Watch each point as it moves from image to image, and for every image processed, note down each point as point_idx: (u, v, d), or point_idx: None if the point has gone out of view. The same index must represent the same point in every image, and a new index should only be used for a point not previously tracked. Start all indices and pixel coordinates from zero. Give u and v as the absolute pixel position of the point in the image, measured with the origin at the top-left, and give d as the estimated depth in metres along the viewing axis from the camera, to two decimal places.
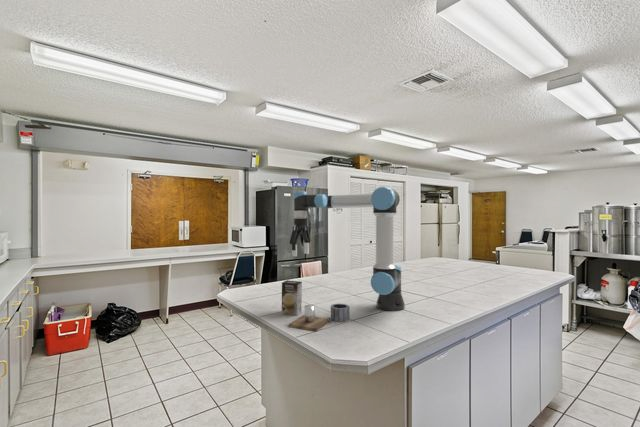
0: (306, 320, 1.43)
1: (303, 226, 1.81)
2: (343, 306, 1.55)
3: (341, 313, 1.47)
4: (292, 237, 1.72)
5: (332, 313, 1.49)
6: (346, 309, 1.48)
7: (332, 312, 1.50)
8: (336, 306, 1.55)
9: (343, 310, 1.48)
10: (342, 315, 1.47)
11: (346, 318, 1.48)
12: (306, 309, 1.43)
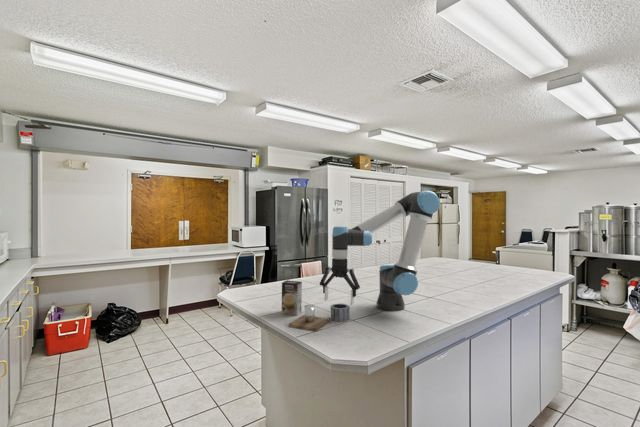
0: (306, 320, 1.43)
1: (341, 268, 1.50)
2: (343, 306, 1.55)
3: (341, 313, 1.47)
4: None
5: (332, 313, 1.49)
6: (346, 309, 1.48)
7: (332, 312, 1.50)
8: (336, 306, 1.55)
9: (343, 310, 1.48)
10: (342, 315, 1.47)
11: (346, 318, 1.48)
12: (306, 309, 1.43)
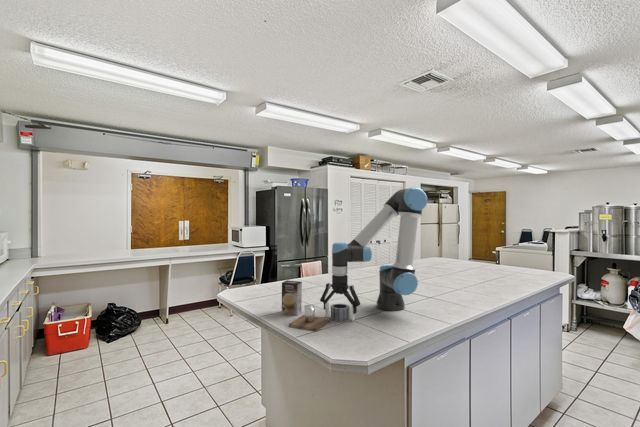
0: (306, 320, 1.43)
1: (341, 285, 1.50)
2: (343, 306, 1.55)
3: (341, 313, 1.47)
4: None
5: (332, 313, 1.49)
6: (346, 309, 1.48)
7: (332, 312, 1.50)
8: (336, 306, 1.55)
9: (343, 310, 1.48)
10: (342, 315, 1.47)
11: (346, 318, 1.48)
12: (306, 309, 1.43)
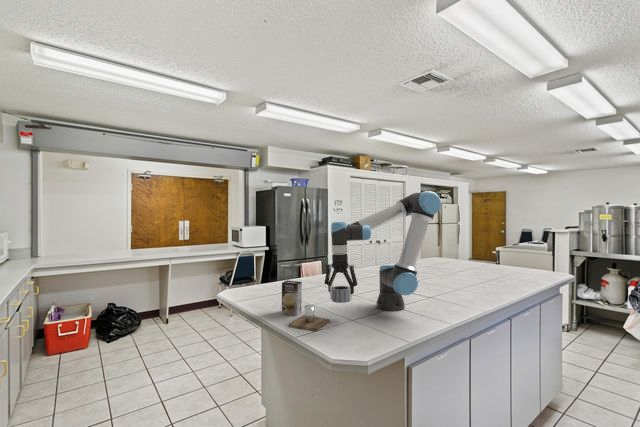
0: (306, 320, 1.43)
1: (342, 263, 1.50)
2: (344, 288, 1.55)
3: (342, 294, 1.48)
4: None
5: (333, 295, 1.50)
6: (347, 290, 1.49)
7: (333, 294, 1.50)
8: (337, 288, 1.55)
9: (344, 291, 1.48)
10: (343, 296, 1.48)
11: (347, 299, 1.49)
12: (306, 309, 1.43)
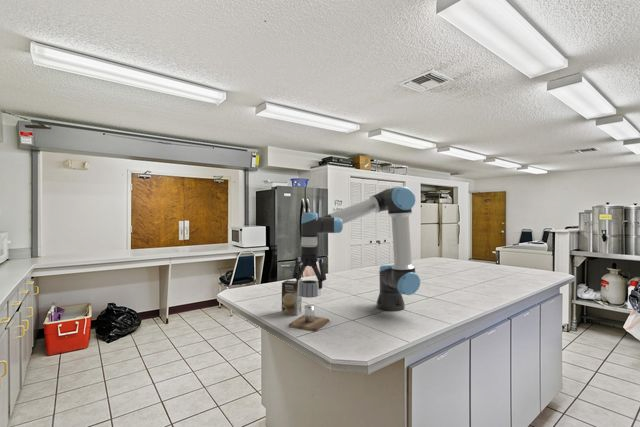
0: (306, 320, 1.43)
1: (311, 256, 1.43)
2: (313, 282, 1.47)
3: (309, 288, 1.40)
4: None
5: (300, 289, 1.42)
6: (315, 284, 1.41)
7: (300, 288, 1.42)
8: (306, 282, 1.47)
9: (311, 285, 1.40)
10: (310, 291, 1.40)
11: (315, 294, 1.41)
12: (306, 309, 1.43)
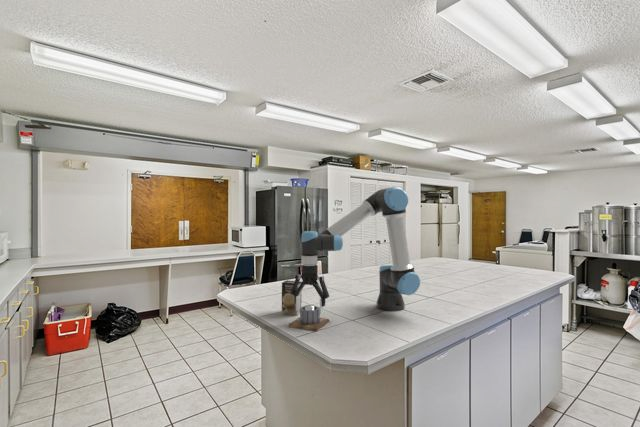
0: None
1: (311, 275, 1.43)
2: (314, 308, 1.47)
3: (310, 315, 1.40)
4: None
5: (301, 316, 1.42)
6: (315, 311, 1.41)
7: (301, 315, 1.42)
8: None
9: (312, 312, 1.40)
10: (311, 318, 1.40)
11: (315, 321, 1.41)
12: (306, 309, 1.43)
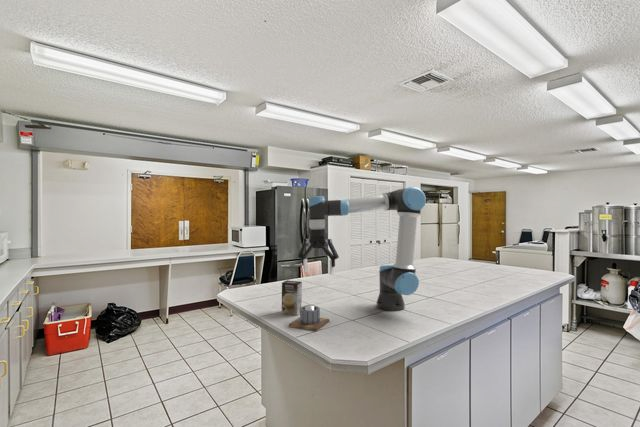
0: None
1: (319, 239, 1.47)
2: (314, 308, 1.47)
3: (310, 315, 1.40)
4: None
5: (301, 316, 1.42)
6: (315, 311, 1.41)
7: (301, 315, 1.42)
8: None
9: (312, 312, 1.40)
10: (311, 318, 1.40)
11: (315, 321, 1.41)
12: (306, 309, 1.43)
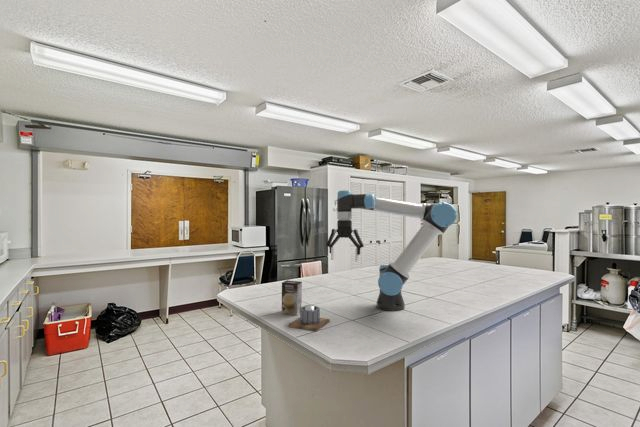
0: None
1: (346, 229, 1.62)
2: (314, 308, 1.47)
3: (310, 315, 1.40)
4: None
5: (301, 316, 1.42)
6: (315, 311, 1.41)
7: (301, 315, 1.42)
8: None
9: (312, 312, 1.40)
10: (311, 318, 1.40)
11: (315, 321, 1.41)
12: (306, 309, 1.43)
